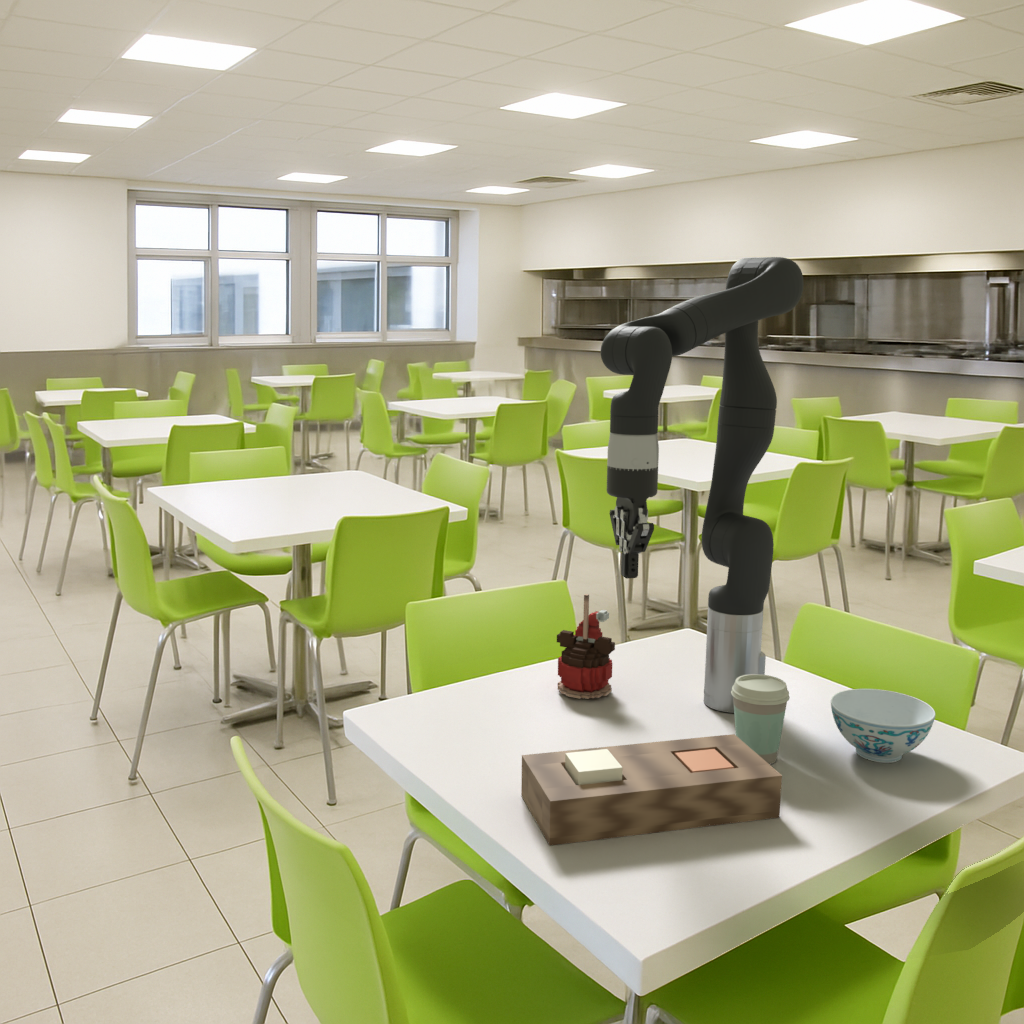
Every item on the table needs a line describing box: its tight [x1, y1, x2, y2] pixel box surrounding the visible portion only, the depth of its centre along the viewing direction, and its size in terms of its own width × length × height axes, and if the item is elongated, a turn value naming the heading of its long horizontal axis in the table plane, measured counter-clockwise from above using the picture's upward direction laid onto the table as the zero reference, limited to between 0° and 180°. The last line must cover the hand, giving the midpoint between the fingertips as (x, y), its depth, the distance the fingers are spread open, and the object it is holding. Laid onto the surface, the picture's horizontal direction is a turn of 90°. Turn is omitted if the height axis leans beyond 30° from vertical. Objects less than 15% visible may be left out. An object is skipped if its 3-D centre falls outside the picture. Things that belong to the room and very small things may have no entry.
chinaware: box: [830, 688, 936, 764], centre depth 155 cm, size 15×15×8 cm
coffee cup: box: [731, 674, 790, 765], centre depth 153 cm, size 8×8×12 cm
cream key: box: [565, 749, 622, 785], centre depth 135 cm, size 6×6×4 cm
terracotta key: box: [675, 749, 734, 773], centre depth 139 cm, size 6×6×4 cm
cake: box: [556, 593, 616, 700], centre depth 179 cm, size 11×9×18 cm
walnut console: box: [521, 733, 783, 846], centre depth 138 cm, size 32×14×6 cm, turn 104°
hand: (629, 576), depth 153 cm, fingers closed
